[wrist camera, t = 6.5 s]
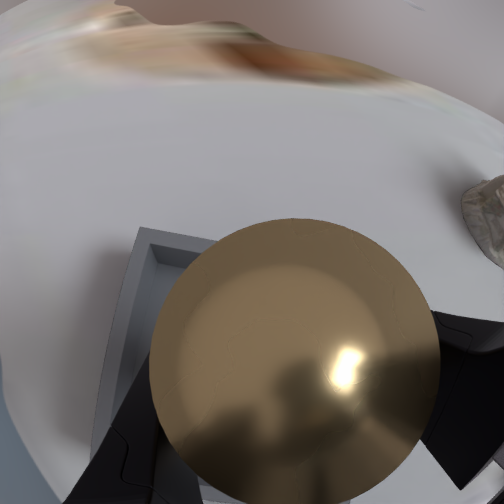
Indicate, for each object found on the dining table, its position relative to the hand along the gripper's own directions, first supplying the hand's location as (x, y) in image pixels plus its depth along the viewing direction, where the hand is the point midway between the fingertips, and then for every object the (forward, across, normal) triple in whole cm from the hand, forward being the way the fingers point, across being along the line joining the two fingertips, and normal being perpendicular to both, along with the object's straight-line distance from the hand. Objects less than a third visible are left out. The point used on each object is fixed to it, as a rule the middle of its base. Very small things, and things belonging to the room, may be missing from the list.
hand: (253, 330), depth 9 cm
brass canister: (+4, 0, +6) cm, 7 cm away
